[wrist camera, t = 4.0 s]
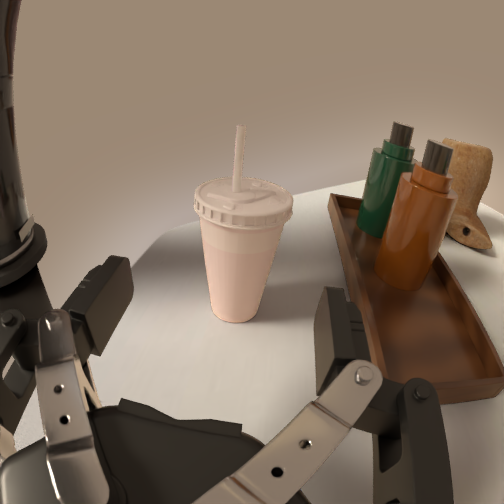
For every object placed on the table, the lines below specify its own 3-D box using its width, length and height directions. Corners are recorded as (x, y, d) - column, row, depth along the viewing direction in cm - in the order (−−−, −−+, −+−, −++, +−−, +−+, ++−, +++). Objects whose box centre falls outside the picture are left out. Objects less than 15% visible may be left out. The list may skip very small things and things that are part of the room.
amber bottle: (365, 273, 29) (405, 134, 22) (381, 250, 33) (415, 131, 26) (418, 299, 26) (471, 160, 19) (427, 272, 31) (469, 152, 23)
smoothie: (187, 286, 26) (188, 117, 19) (258, 277, 28) (278, 119, 21) (204, 342, 21) (208, 137, 14) (287, 327, 23) (326, 141, 16)
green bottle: (349, 226, 38) (373, 117, 30) (364, 213, 42) (386, 117, 34) (392, 245, 35) (424, 133, 27) (402, 229, 39) (429, 131, 31)
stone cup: (422, 202, 52) (442, 127, 44) (475, 223, 47) (498, 151, 39) (422, 232, 41) (451, 134, 32) (488, 259, 36) (522, 167, 28)
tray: (494, 397, 17) (510, 381, 16) (369, 408, 17) (382, 391, 16) (402, 220, 43) (406, 207, 42) (327, 207, 44) (330, 193, 42)
